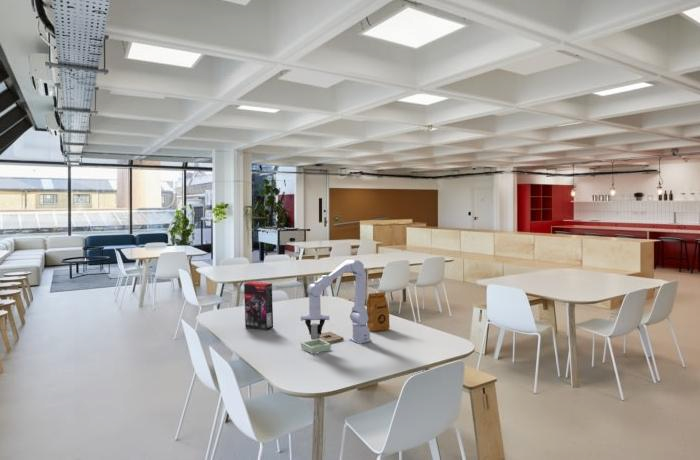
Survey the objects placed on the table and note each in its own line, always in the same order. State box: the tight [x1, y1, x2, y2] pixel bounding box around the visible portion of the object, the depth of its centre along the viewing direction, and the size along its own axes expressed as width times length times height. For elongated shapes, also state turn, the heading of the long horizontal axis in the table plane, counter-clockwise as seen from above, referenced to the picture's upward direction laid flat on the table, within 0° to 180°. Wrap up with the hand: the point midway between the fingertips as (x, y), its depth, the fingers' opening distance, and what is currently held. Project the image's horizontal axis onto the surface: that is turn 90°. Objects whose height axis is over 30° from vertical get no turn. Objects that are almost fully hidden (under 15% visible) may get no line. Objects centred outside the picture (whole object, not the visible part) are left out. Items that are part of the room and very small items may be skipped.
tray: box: [300, 339, 332, 355], centre depth 219 cm, size 11×11×3 cm
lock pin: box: [310, 323, 320, 340], centre depth 219 cm, size 4×4×7 cm
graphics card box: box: [243, 281, 274, 331], centre depth 258 cm, size 17×7×27 cm, turn 62°
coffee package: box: [366, 291, 391, 332], centre depth 251 cm, size 10×12×22 cm
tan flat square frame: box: [313, 331, 344, 344], centre depth 235 cm, size 14×12×2 cm
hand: (315, 334), depth 219 cm, fingers closed on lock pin, 4 cm apart
